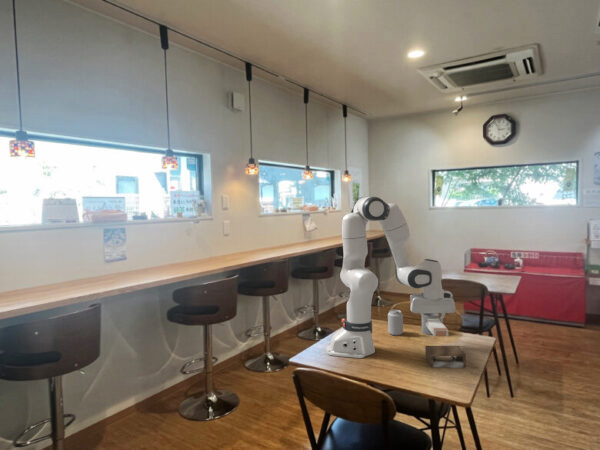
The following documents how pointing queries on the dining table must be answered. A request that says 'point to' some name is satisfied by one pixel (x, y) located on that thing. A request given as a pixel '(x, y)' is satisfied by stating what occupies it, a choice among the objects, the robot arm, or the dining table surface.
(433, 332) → the white and orange box
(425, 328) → the cup
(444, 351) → the cabinet
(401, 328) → the can
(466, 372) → the dining table surface
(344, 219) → the robot arm
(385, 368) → the dining table surface
